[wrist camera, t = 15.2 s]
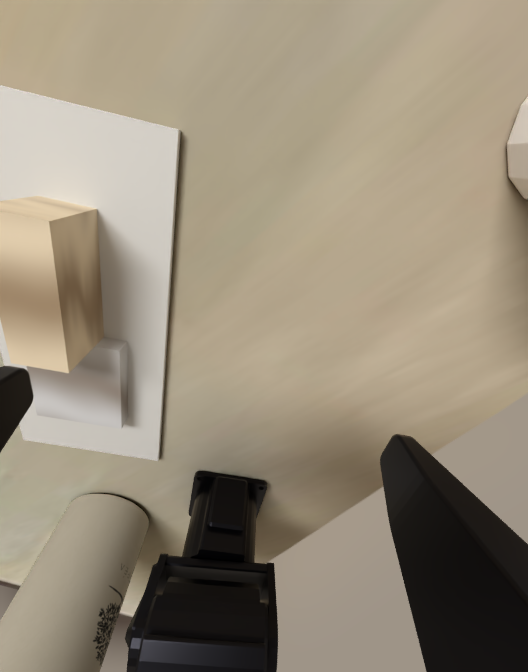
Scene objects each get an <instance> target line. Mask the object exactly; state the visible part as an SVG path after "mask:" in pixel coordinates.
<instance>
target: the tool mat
mask: <svg viewBox="0 0 528 672" xmlns="http://www.w3.org/2000/svg"><path fill="white" fill-rule="evenodd" d="M180 133H181V130H178V129H174V128H170V127H166V126H162V125H158V124H154V123H150V122H146V121H142V120H138V119H134V118H130V117H126V116H122V115H118V114H114V113H110V112H106V111H102V110H98V109H94V108H90V107H86V106H82V105H78V104H74V103H70V102H66V101H62V100H58V99H54V98H50V97H46V96H42V95H38V94H34V93H30V92H26V91H22V90H18V89H14V88H10V87H6V86H2V85H0V201H4V200H11V199H18V198H25V197H32V196H42V197H46V198H51V199H55V200H60V201H64V202H69V203H73V204H78V205H82V206H87V207H91V208H96V209H97V219H98V237H99V255H100V273H101V290H102V308H103V326H104V337H108V338H113V339H119V340H124V341H127V359H128V419H127V420H126V422H125V424H124V426H123V427H122V429H118V428H112V427H106V426H100V425H94V424H88V423H82V422H75V421H69V420H63V419H57V418H51V417H45V416H39V415H37V413H36V408H35V403H34V399H33V402H32V404H31V406H30V408H29V409H28V411H27V412H26V414H25V415H24V417H23V418H22V420H21V422H20V423H19V425H20V428H21V432H22V436H23V440H28V441H34V442H41V443H47V444H53V445H60V446H66V447H73V448H79V449H85V450H92V451H98V452H105V453H111V454H117V455H124V456H130V457H136V458H143V459H149V460H156V461H158V460H159V457H160V443H161V428H162V412H163V397H164V381H165V366H166V350H167V334H168V319H169V303H170V288H171V272H172V257H173V241H174V226H175V210H176V195H177V179H178V164H179V148H180ZM0 350H1V354H2V358H3V362H4V366H14V367H20V368H24V369H26V370H27V366H24V365H19V364H13V363H11V361H10V357H9V353H8V349H7V345H6V341H5V336H4V332H3V328H2V324H1V320H0Z"/></svg>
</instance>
